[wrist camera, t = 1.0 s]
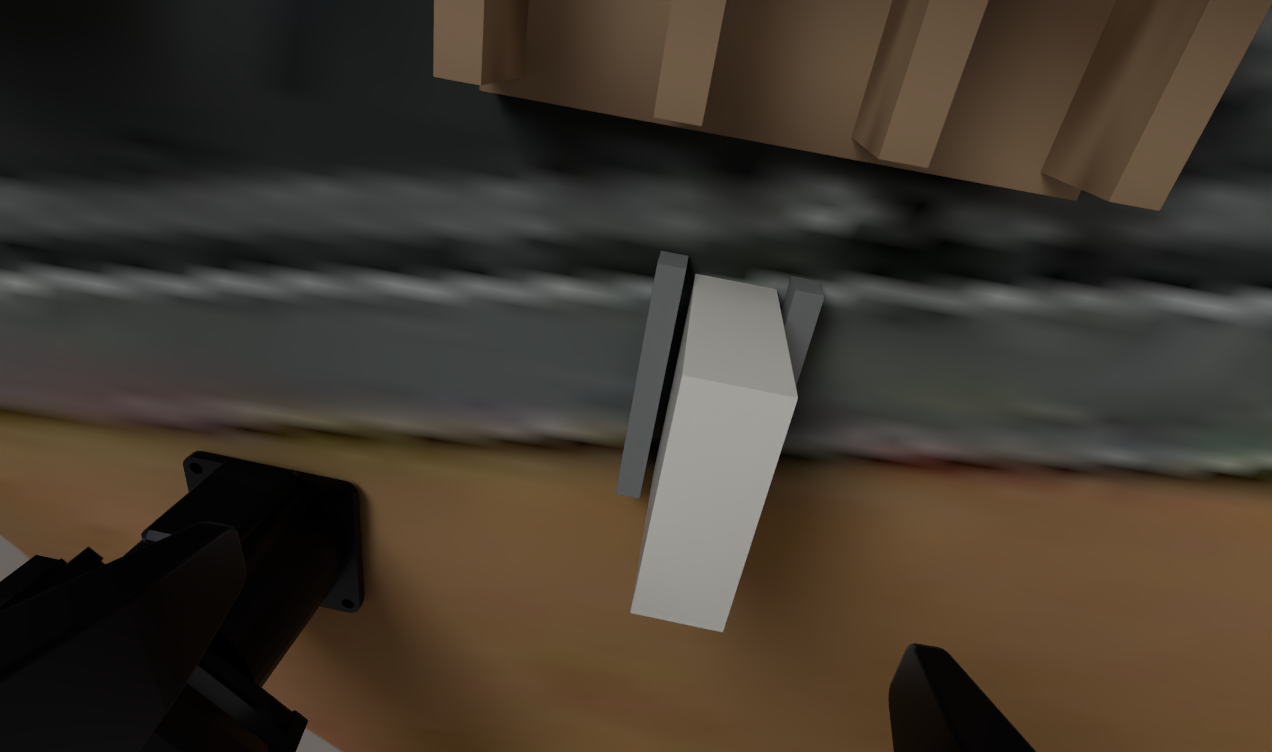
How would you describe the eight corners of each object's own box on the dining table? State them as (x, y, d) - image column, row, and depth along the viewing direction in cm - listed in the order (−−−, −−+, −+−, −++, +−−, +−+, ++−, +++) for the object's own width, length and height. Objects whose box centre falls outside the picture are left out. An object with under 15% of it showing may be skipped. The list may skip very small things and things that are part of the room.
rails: (752, 499, 22) (753, 522, 21) (620, 472, 23) (615, 493, 22) (819, 281, 19) (824, 295, 18) (661, 250, 19) (657, 263, 18)
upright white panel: (723, 479, 22) (722, 632, 17) (654, 465, 22) (630, 612, 17) (776, 289, 19) (798, 398, 13) (695, 273, 19) (682, 375, 13)
